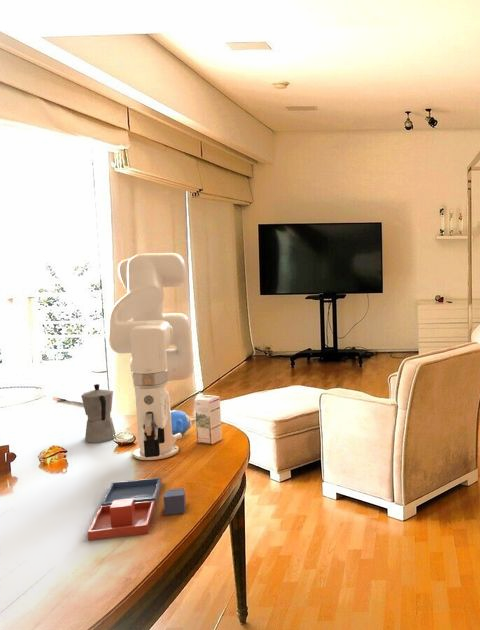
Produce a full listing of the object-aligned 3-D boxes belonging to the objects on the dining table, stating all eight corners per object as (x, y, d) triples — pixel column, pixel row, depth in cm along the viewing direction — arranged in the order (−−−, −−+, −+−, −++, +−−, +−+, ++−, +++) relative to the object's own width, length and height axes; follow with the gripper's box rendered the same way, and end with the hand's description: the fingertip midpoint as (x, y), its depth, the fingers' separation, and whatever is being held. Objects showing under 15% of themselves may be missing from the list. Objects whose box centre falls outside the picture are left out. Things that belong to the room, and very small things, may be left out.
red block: (114, 518, 157) (113, 500, 157) (135, 516, 159) (134, 498, 158) (111, 526, 153) (109, 508, 153) (132, 524, 154) (131, 505, 154)
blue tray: (112, 489, 176) (111, 482, 176) (161, 484, 179) (161, 477, 179) (101, 511, 162) (101, 503, 162) (155, 505, 166) (155, 498, 165)
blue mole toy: (205, 436, 220) (203, 411, 219) (167, 442, 214) (165, 417, 213) (195, 427, 230) (194, 403, 229) (159, 433, 224) (157, 408, 223)
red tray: (100, 514, 161) (100, 506, 161) (155, 508, 164) (154, 500, 164) (88, 540, 148) (87, 531, 147) (147, 533, 151) (147, 524, 150)
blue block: (166, 507, 165) (165, 490, 164) (186, 505, 166) (185, 488, 165) (164, 515, 160) (163, 497, 160) (184, 513, 161) (183, 495, 161)
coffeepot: (80, 436, 221) (76, 382, 219) (111, 430, 227) (107, 378, 225) (90, 448, 209) (86, 391, 207) (122, 442, 215) (119, 387, 212)
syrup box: (222, 439, 217) (220, 395, 215) (211, 445, 211) (209, 399, 209) (207, 437, 219) (205, 394, 217) (196, 443, 213) (193, 398, 211)
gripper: (163, 385, 149) (167, 460, 151) (171, 369, 165) (175, 437, 168) (126, 388, 147) (132, 463, 149) (138, 371, 164) (143, 439, 166)
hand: (155, 449), depth 159 cm, fingers open, 9 cm apart
